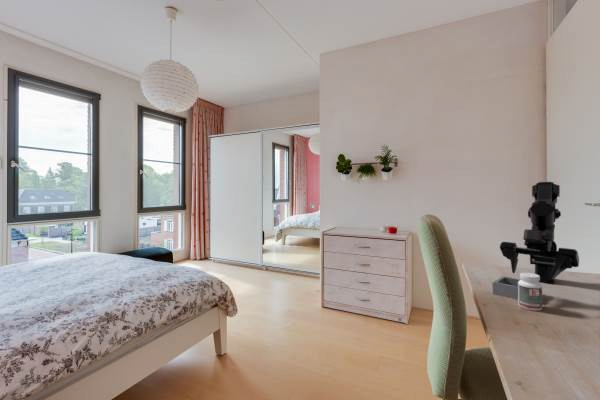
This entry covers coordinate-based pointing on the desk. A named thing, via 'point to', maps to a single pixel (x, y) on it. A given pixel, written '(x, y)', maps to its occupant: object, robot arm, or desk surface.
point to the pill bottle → (530, 291)
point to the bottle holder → (506, 287)
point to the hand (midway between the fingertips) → (531, 275)
